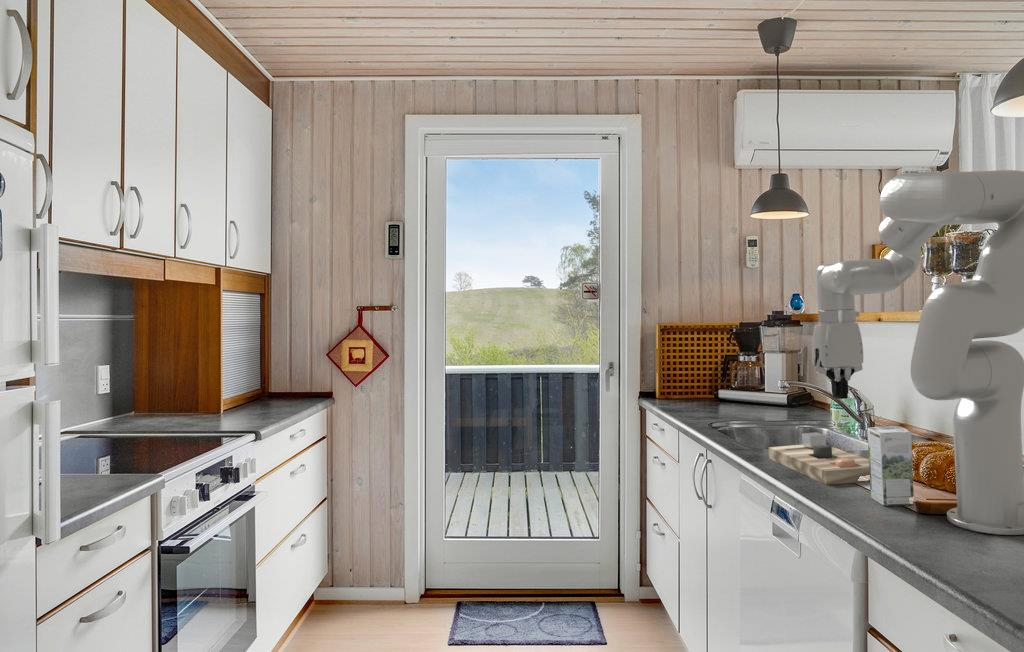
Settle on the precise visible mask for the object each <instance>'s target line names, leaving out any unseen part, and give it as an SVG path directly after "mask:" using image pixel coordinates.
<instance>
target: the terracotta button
mask: <svg viewBox="0 0 1024 652" xmlns="http://www.w3.org/2000/svg"><path fill="white" fill-rule="evenodd" d="M835 466H838V467H840V468H845V467H855V460H853V459H848V458H838V459H835Z"/></svg>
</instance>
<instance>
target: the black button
mask: <svg viewBox="0 0 1024 652" xmlns="http://www.w3.org/2000/svg"><path fill="white" fill-rule="evenodd" d="M832 447H833V446H831V445H828V444H826V445H815V446H813V455H814V457H815V458H817V459H824V458H832Z"/></svg>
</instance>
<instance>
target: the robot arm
mask: <svg viewBox="0 0 1024 652" xmlns="http://www.w3.org/2000/svg"><path fill="white" fill-rule="evenodd" d="M879 207H880V210H881V212H882V214H883V215H885V216H886V217H885V218H884V219H883V220H882V221H881V222H880V224H879V227H878V235H879V238H880V239H881V242H882V243H883V244H884V245H885V246H886V247H887V248H888V249H890V251H889V252H888V253H887V254H886V255H884V256H883V257H882V258H869V259H868V258H867V259H855V260H854V259H853V260H852V259H851V260H850V259H849V260H841V261H839V262H835V263H827V264H821V265H819V266H818V267H817V268H816V271H815V273H816V296H817V297H816V298H817V317H818V318H817V319H818V324H815V325H814V330H813V335H812V342H811V343H812V345H811V362H812V365H813V366H814V367H815V370H814V371H815V373H816V374H819V375H825V376H826V378H828V380H829V381H830V382H831V394H832V397H833V398H835V399H839V400H843V399H849V398H848V397H849V395H848V394H849V382H850V380H851V378H852V376H853V374H854V373H857V372H859V371H862V370H863V369H864V368H863V365H862V364H864V347H863V339H862V335H861V334H862V333H861V330H860V326H859V323H858V322H856V320H857V319H856V318H859V317H860V315H861V314H860V311H856V308H855V307H856V306H855V296H861V295H874V294H885V293H889V292H892V291H894V290H896V289H897V288H899V287H900V286H901V285H903V283H905V282H906V281H907V280H908V279H910V277H912V276H913V274H915V272H917V269H918V267H919V265H920V262H921V258H922V247H923V246H924V244H926V243H927V242H928V241H929V240H930V239H931V238H932V237H933V236H934V235H936V233H937V232H938V231H940V230H941V229H942V228H943V227H944V226H946V225H947V226H948V225H949V226H953V225H954V226H958V225H959V226H960V225H961V226H962V225H979V224H981V225H982V224H998V228H997V229H996V230H995V232H993V233H992V235H991V236H990V237H989V238H988V240H987V241H986V243H985V244H984V246H983V248H982V250H981V251H980V254H979V257H978V262H977V266H976V270H975V273H974V275H973V278H972V279H971V280H970V281H959V282H958V281H957V282H956V281H955V282H952V283H947V284H944V285H941V286H938V287H937V288H935V289H934V290H933V291H932V292H931V293H930V295H929V296H928V298H927V299H926V300H925V302H924V304H923V307H922V310H921V314H920V317H919V323H918V326H917V332H916V337H915V342H914V347H913V351H912V355H911V362H910V376H911V377H910V379H911V382H912V385H913V386H914V388H915V389H916V391H917V392H918V393H919V394H920V395H921V396H923V397H924V398H926V399H930V400H932V401H952V400H953V401H954V400H958V402H957V405H956V406H955V409H954V413H953V419H952V432H953V452H954V453H953V454H954V471H955V474H954V475H955V488H956V490H955V491H956V507H952V508H950V509H949V510H947V511H946V518H947V520H948V521H949V522H950V523H951V524H952V525H955V526H957V527H959V528H962V529H964V530H965V529H966V530H969V531H973V532H978V533H983V534H984V533H985V534H988V535H989V534H992V535H1000V536H1001V535H1004V536H1018V535H1019V536H1020V535H1024V462H1023V460H1024V459H1023V445H1022V442H1023V441H1022V434H1023V433H1022V403H1023V402H1022V400H1023V392H1024V358H1023V357H1024V356H1022V355H1021V352H1020V351H1018V350H1017V349H1016V348H1015V347H1013V346H1012V345H1010V344H1009V343H1006V342H1003V341H998V340H988V339H989V338H990V339H991V338H999V337H1007V336H1013V335H1014V334H1018V333H1020V332H1021V331H1022V330H1023V329H1024V170H1015V169H1014V170H1010V169H1009V170H1008V169H1006V170H1004V169H1003V170H1002V169H999V170H998V169H997V170H981V171H953V172H952V171H951V172H949V171H920V172H917V171H915V172H903V173H900V174H897V175H896V176H894V177H893V178H891V179H890V180H888V182H887V183H886V184H885V185H884V187H883V189H882V191H881V193H880V197H879ZM976 339H977V340H976ZM978 339H979V340H978ZM980 339H981V340H980ZM982 339H987V340H982ZM973 340H974V341H973Z"/></svg>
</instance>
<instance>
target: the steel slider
mask: <svg viewBox="0 0 1024 652" xmlns="http://www.w3.org/2000/svg"><path fill="white" fill-rule="evenodd" d="M826 436H827V435H826V434H824V433H820V432H817V431H816V432H804V433H803V432H802V433H801V445H803V446H806V447H809V448H813V446H815V445H827V438H826Z"/></svg>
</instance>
